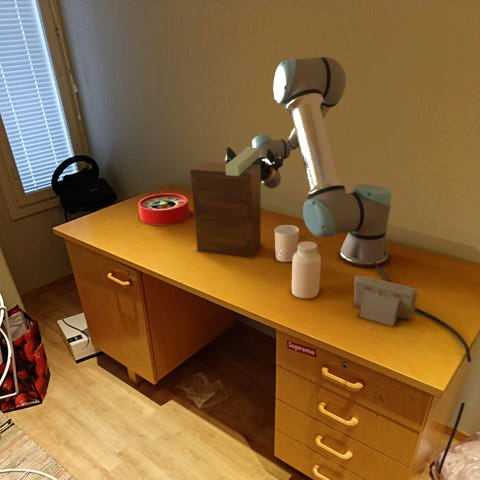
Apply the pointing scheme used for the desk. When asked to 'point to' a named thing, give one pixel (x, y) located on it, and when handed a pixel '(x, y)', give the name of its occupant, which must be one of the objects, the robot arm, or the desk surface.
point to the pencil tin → (242, 161)
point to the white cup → (286, 242)
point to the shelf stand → (227, 209)
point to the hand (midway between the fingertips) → (247, 152)
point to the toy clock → (163, 209)
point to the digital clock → (384, 300)
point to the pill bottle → (306, 270)
